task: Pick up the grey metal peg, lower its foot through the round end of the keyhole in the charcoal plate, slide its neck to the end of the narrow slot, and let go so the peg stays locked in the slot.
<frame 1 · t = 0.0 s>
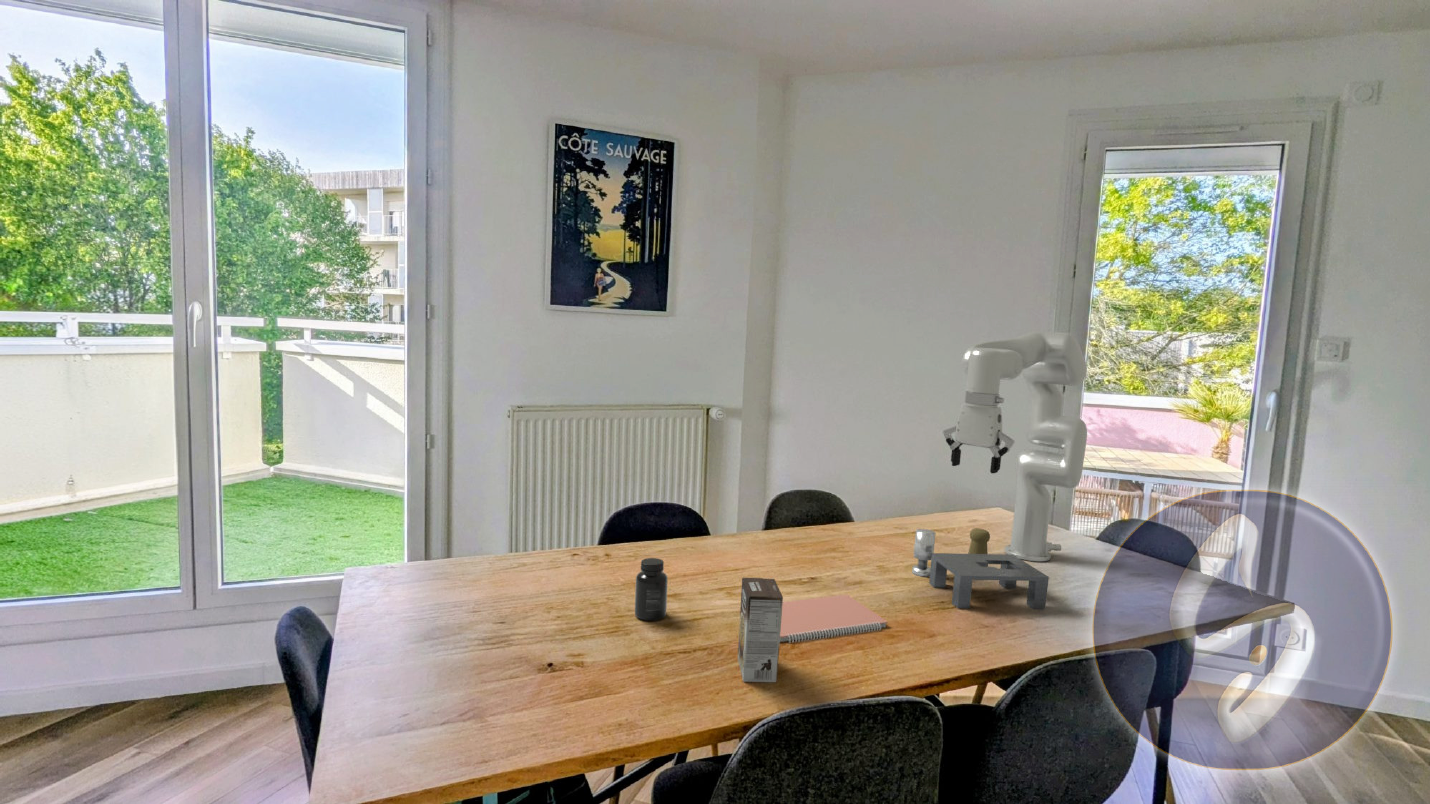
hand: (974, 468, 173), 31 cm above the table, tool pointing down, fingers open, 9 cm apart
notebook: (815, 623, 153), on the table
supplement bottle: (650, 616, 151), on the table
keyhole stand: (984, 595, 174), on the table
cork: (976, 568, 194), on the table
coffee box: (756, 671, 130), on the table
peg: (921, 573, 187), on the table
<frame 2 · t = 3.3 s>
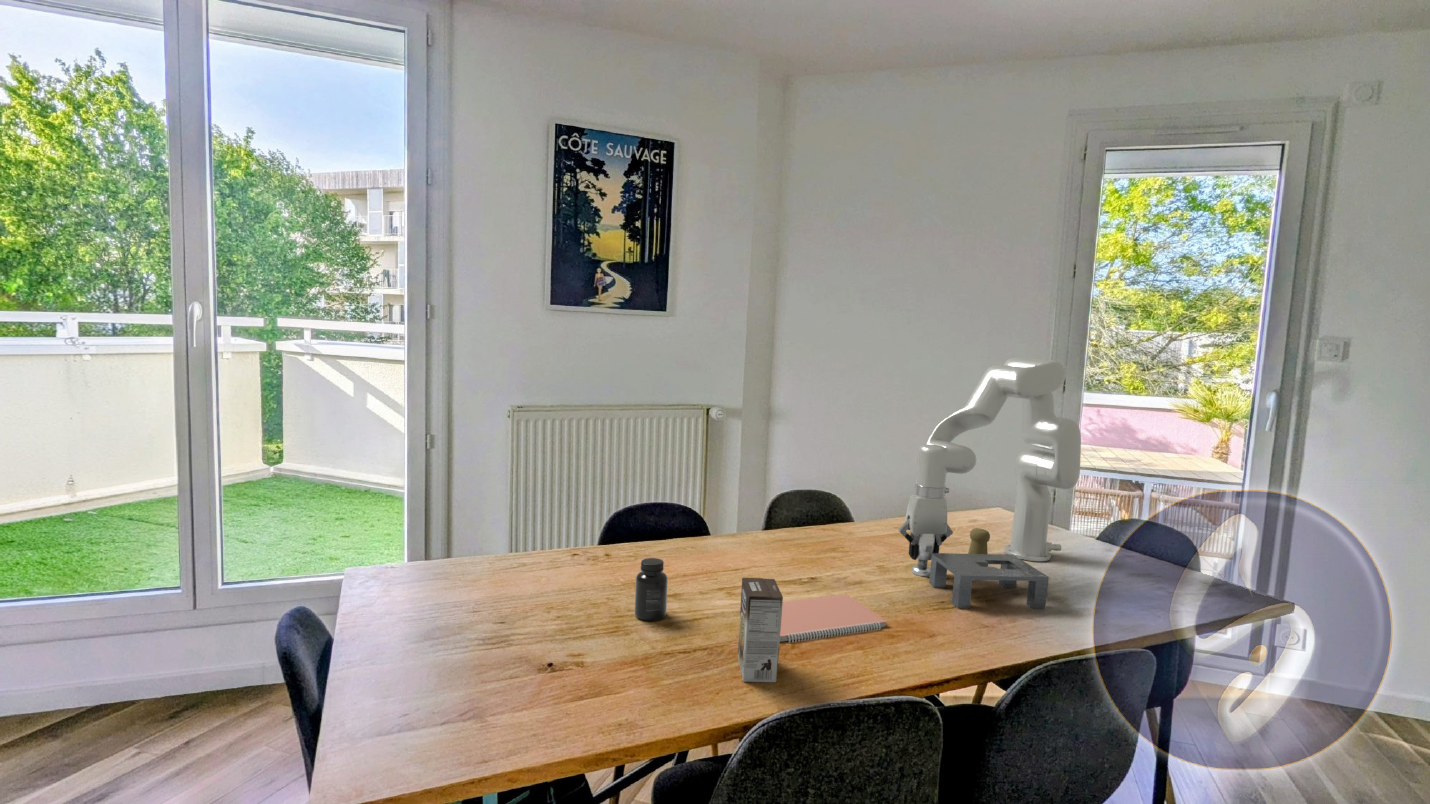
hand: (923, 557, 187), 4 cm above the table, tool pointing down, fingers closed on peg, 5 cm apart
peg: (921, 573, 187), on the table, touching gripper
everything else where it was.
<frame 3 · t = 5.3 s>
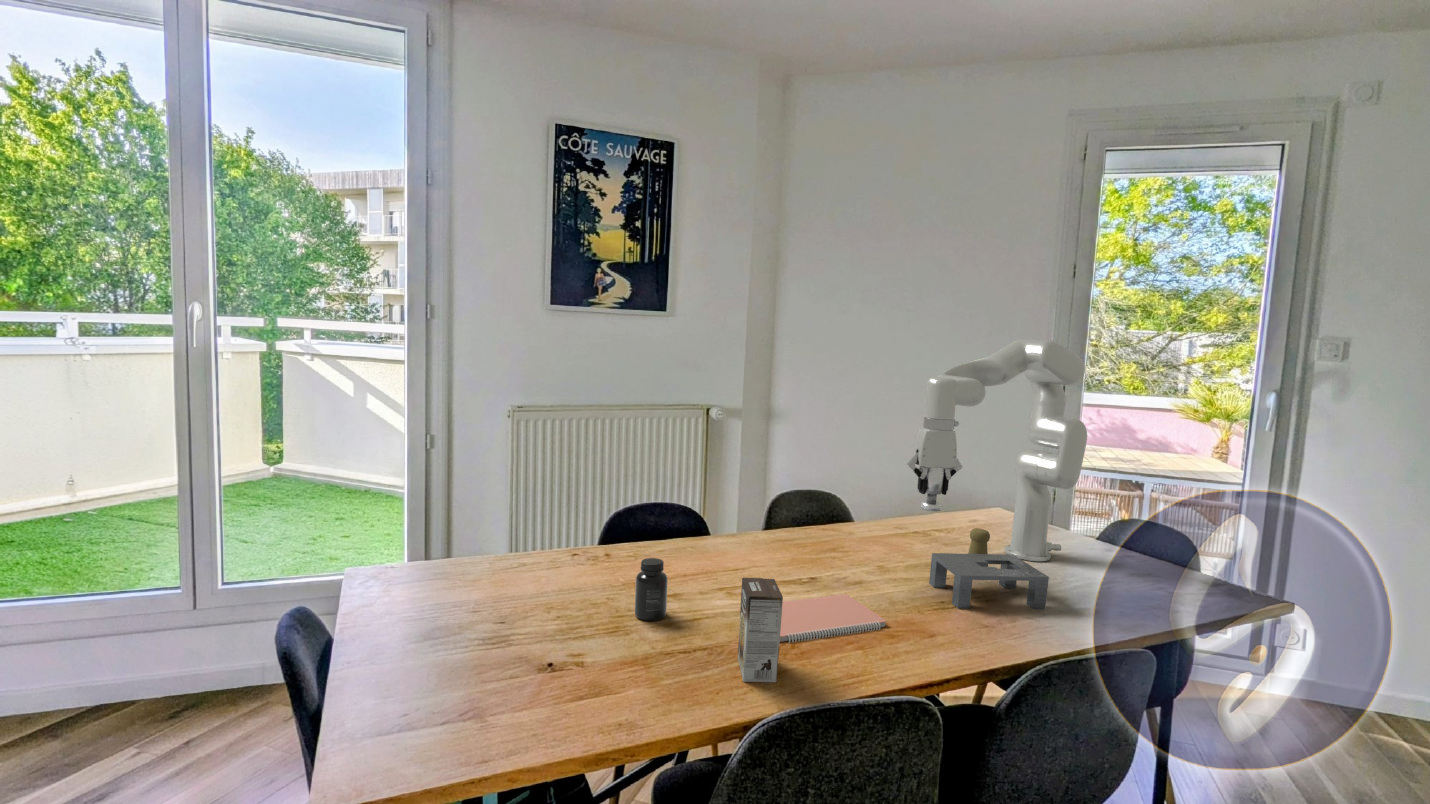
hand: (932, 492, 184), 22 cm above the table, tool pointing down, fingers closed on peg, 5 cm apart
peg: (930, 508, 185), point 18 cm above the table, touching gripper
everything else where it was.
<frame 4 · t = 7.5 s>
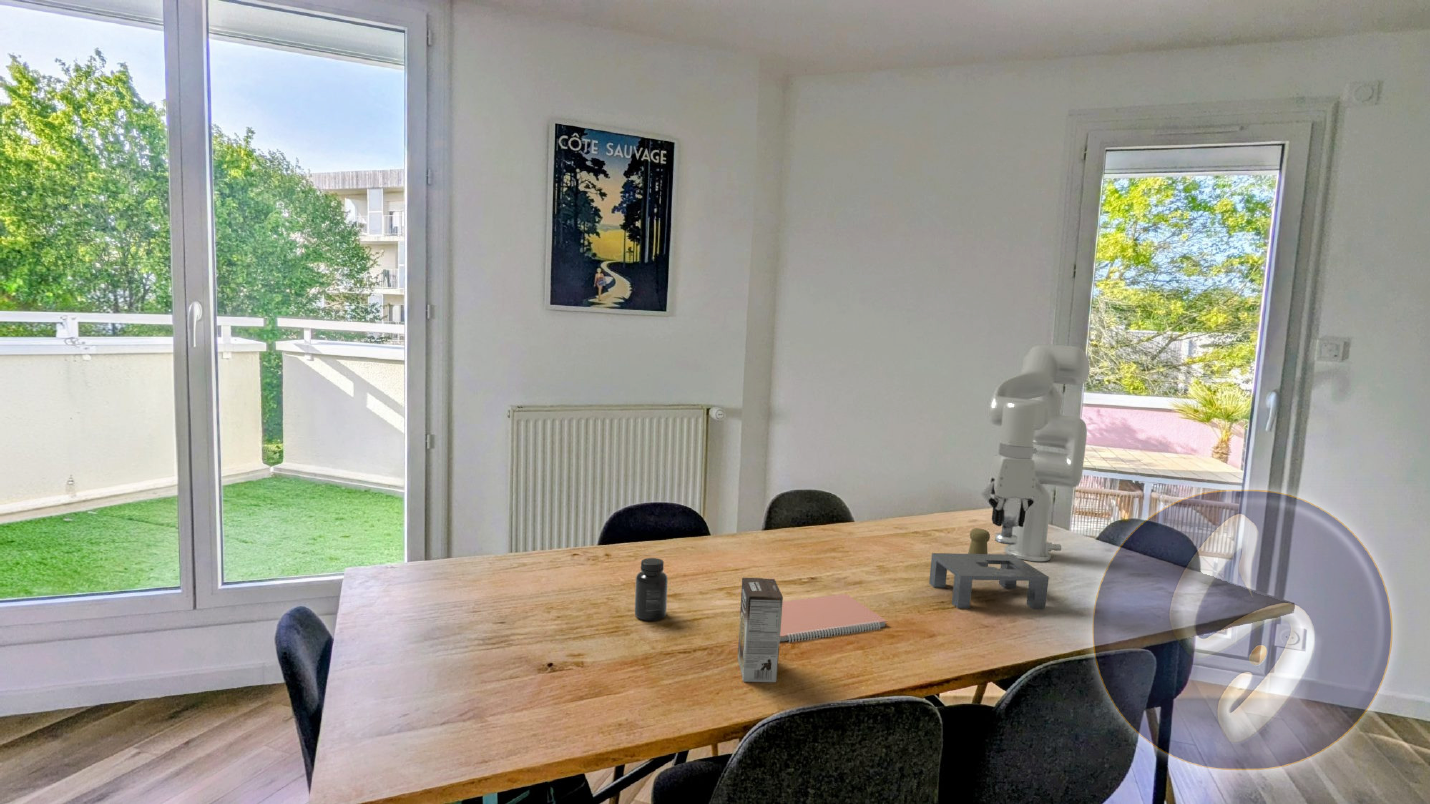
hand: (1007, 524, 172), 18 cm above the table, tool pointing down, fingers closed on peg, 5 cm apart
peg: (1005, 541, 172), point 14 cm above the table, touching gripper
everything else where it was.
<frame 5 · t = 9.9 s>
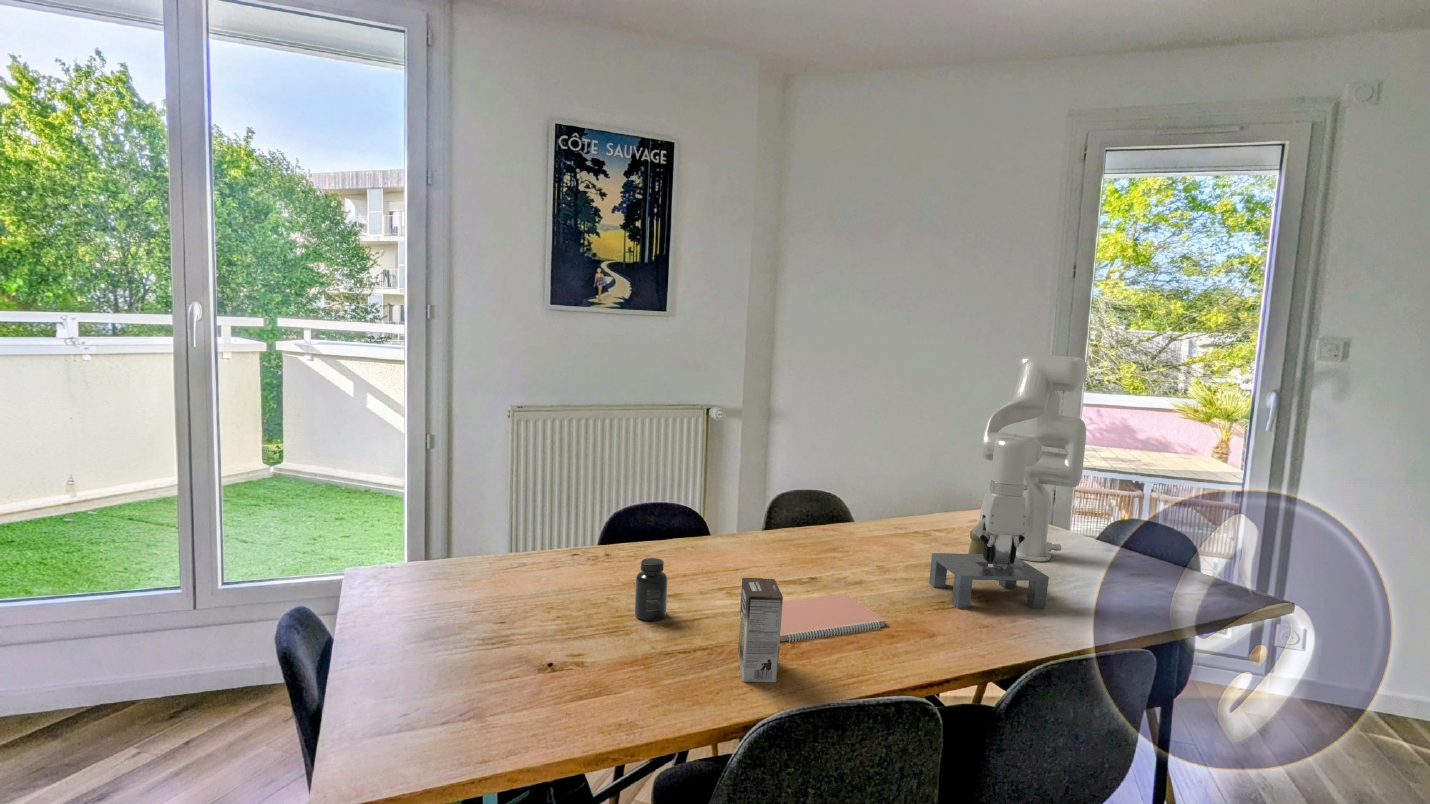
hand: (998, 560, 173), 9 cm above the table, tool pointing down, fingers closed on peg, 5 cm apart
peg: (997, 577, 173), point 5 cm above the table, touching gripper
everything else where it was.
when the fingers open (9 cm above the table, at t = 11.7 s): peg drops 1 cm, resting on keyhole stand.
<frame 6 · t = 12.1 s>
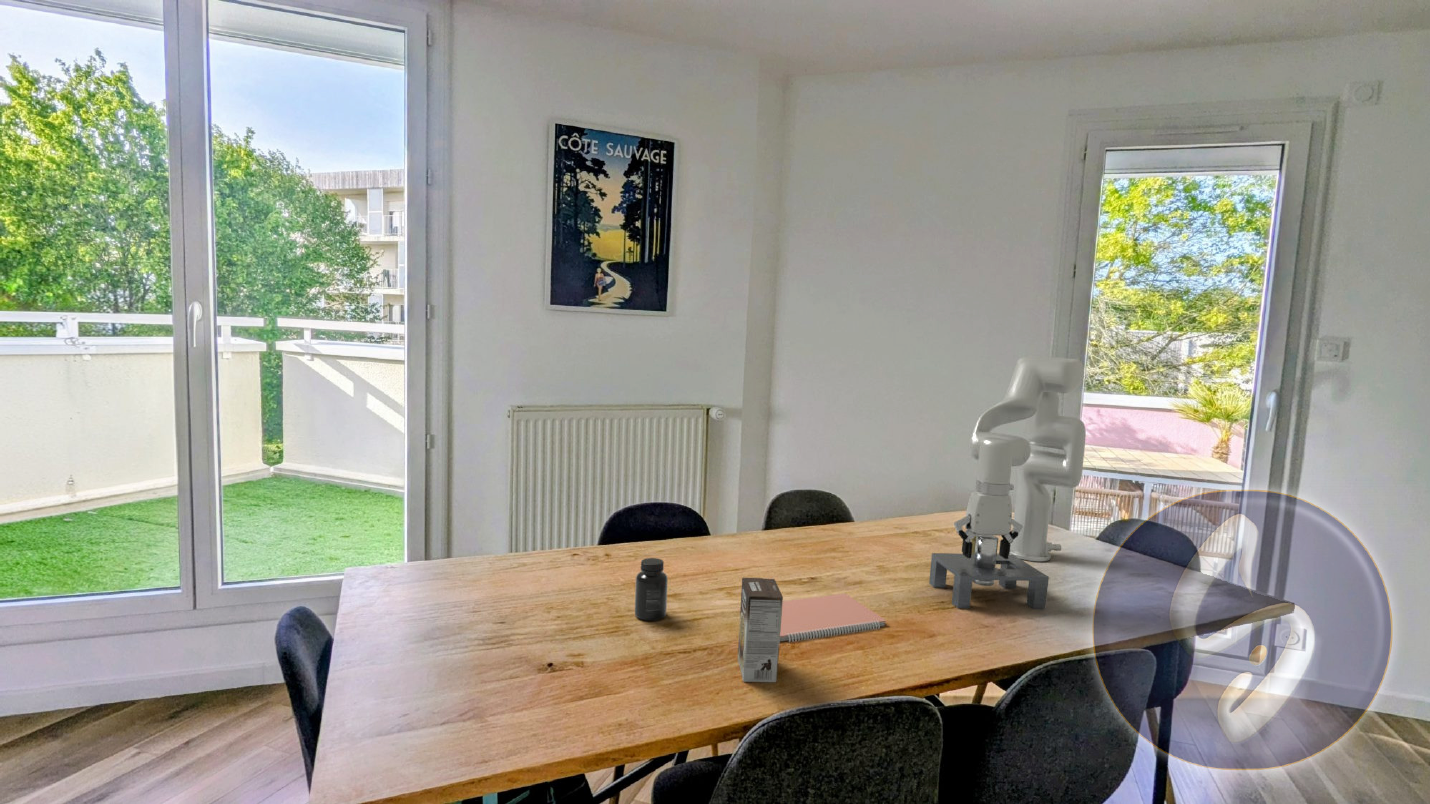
hand: (985, 556, 172), 10 cm above the table, tool pointing down, fingers open, 9 cm apart
peg: (982, 582, 173), point 3 cm above the table, touching keyhole stand
everything else where it was.
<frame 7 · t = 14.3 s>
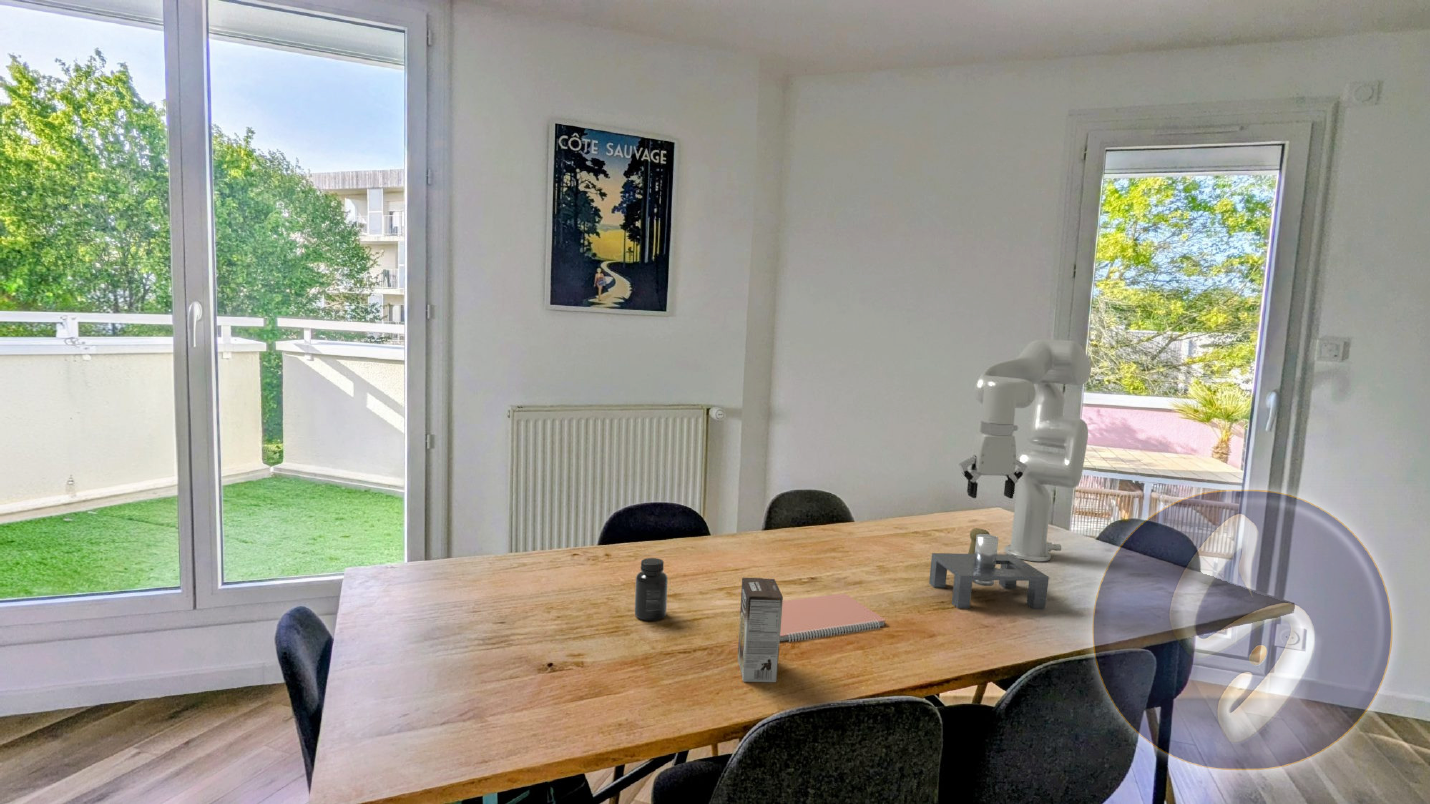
hand: (990, 496, 176), 24 cm above the table, tool pointing down, fingers open, 9 cm apart
nothing on the table moved.
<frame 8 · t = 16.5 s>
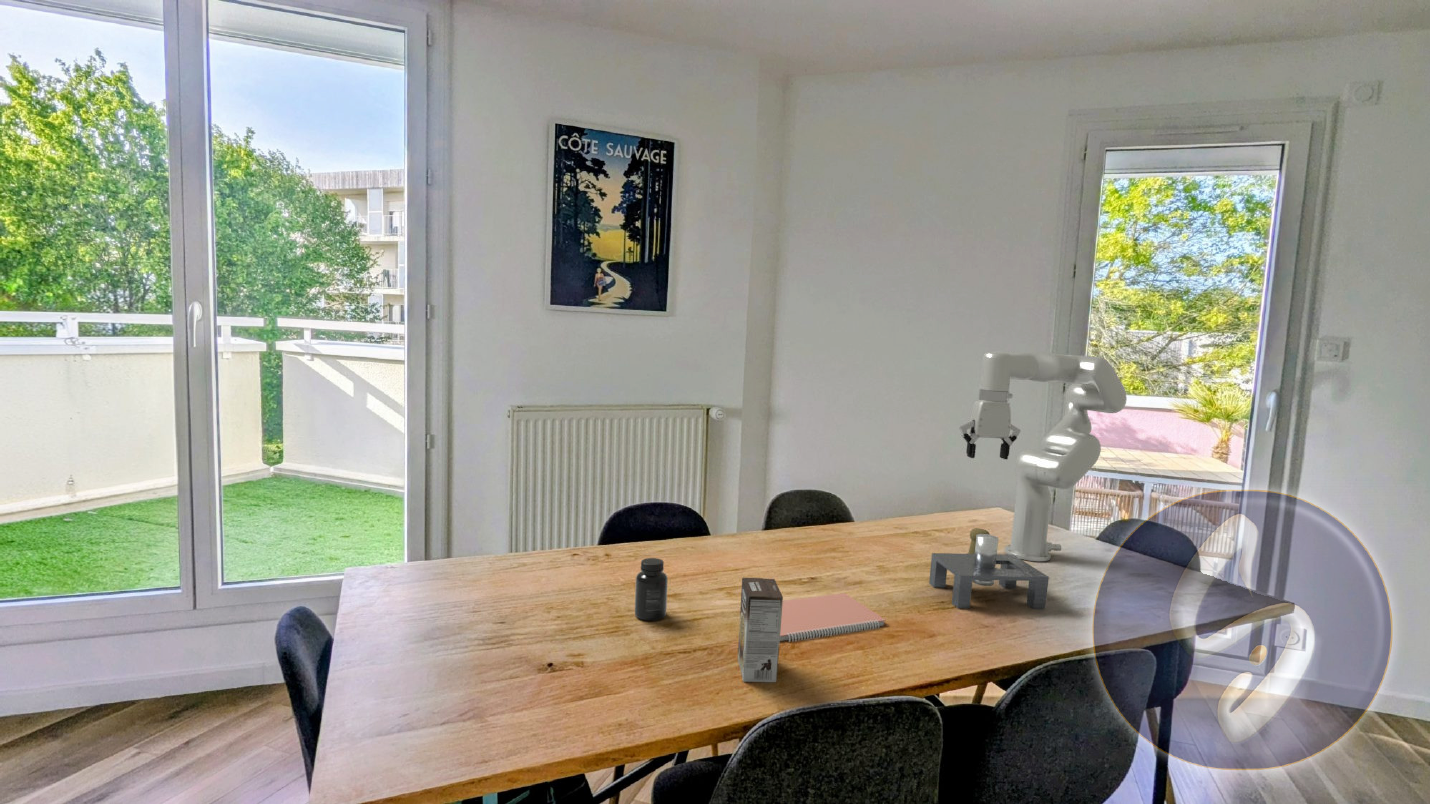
hand: (987, 457, 195), 30 cm above the table, tool pointing down, fingers open, 9 cm apart
nothing on the table moved.
at the end: peg 0.3 cm from the target spot on the keyhole stand, point 3.5 cm above the keyhole stand's base; peg tilted 0°; the gripper is holding nothing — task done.
